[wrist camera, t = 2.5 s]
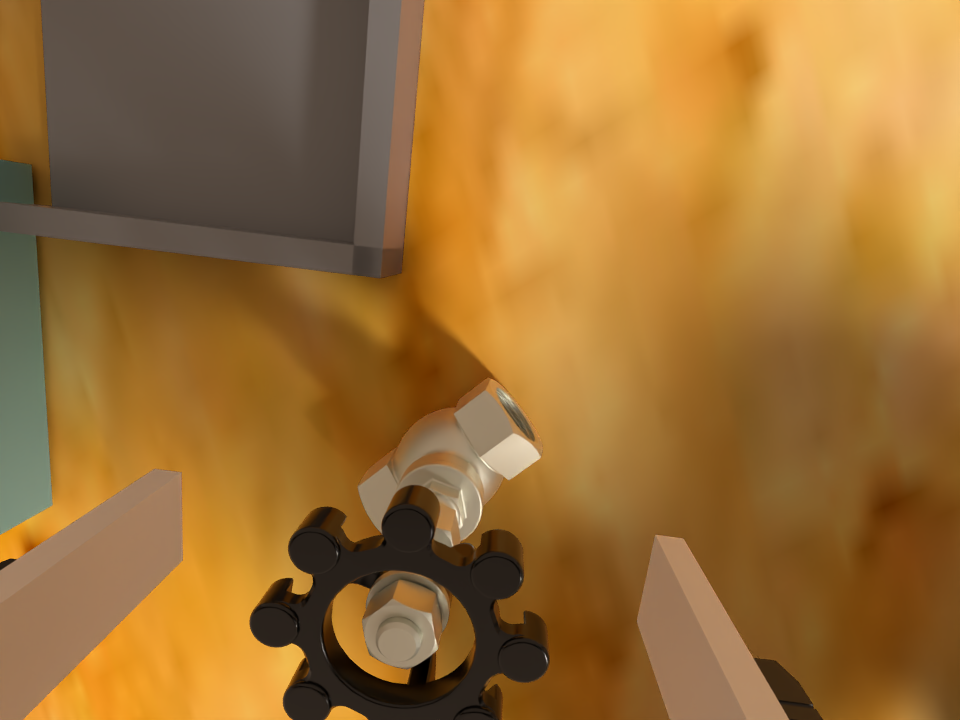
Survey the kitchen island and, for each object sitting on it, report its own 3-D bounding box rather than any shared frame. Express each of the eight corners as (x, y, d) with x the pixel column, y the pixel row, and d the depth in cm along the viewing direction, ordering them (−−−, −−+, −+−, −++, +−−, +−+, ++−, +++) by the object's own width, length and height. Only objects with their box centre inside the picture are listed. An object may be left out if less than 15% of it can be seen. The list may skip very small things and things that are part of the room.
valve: (563, 456, 23) (614, 676, 11) (445, 539, 24) (381, 815, 13) (467, 337, 22) (414, 441, 11) (350, 430, 23) (186, 615, 12)
